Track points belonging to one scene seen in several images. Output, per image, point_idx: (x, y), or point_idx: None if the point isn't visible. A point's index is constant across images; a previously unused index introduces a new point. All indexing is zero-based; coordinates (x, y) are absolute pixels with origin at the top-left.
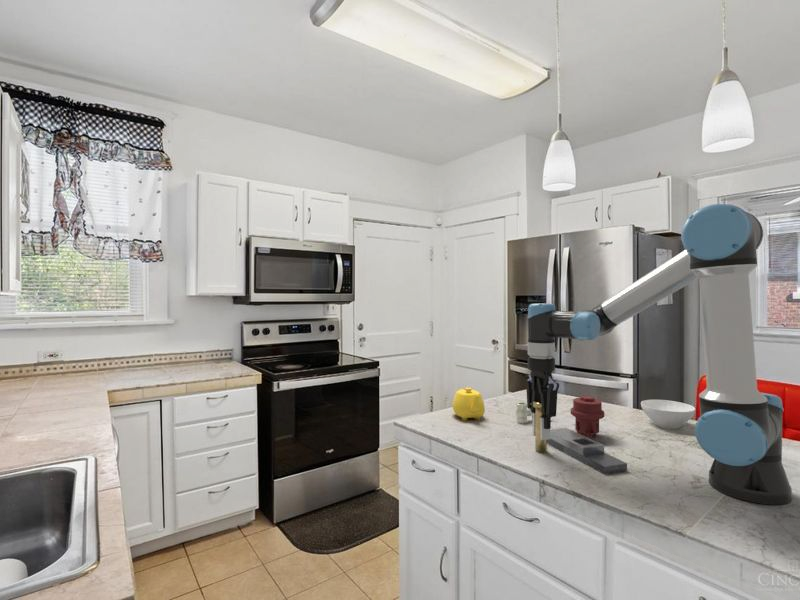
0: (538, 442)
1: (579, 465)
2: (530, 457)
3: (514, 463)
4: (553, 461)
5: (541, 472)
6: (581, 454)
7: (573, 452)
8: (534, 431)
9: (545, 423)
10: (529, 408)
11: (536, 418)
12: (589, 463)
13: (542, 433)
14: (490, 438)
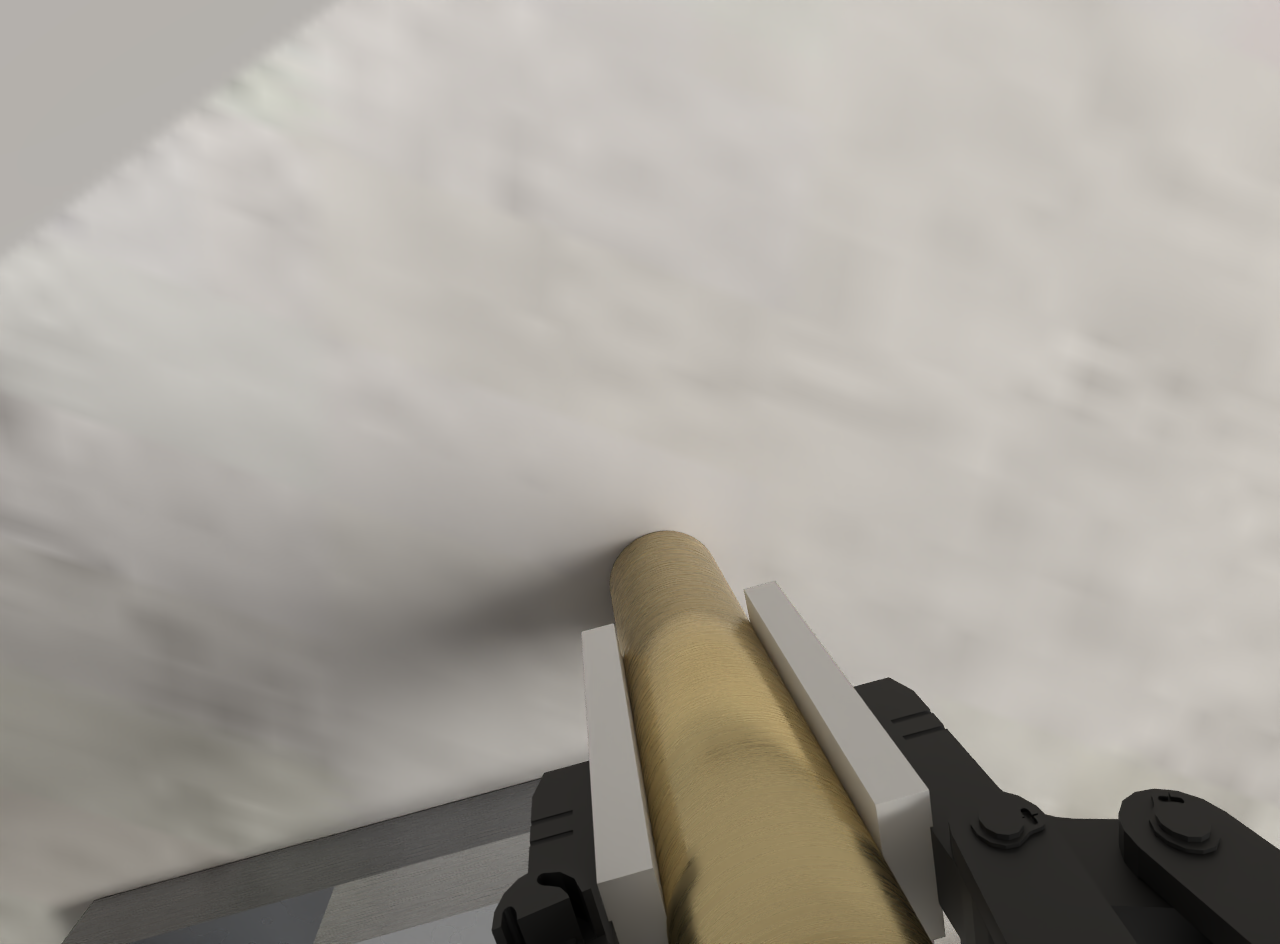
0: (638, 589)
1: (294, 784)
2: (498, 421)
3: (322, 178)
4: (387, 604)
5: (77, 392)
6: (357, 880)
7: (473, 832)
8: (760, 622)
9: (552, 841)
10: (1120, 816)
11: (740, 774)
12: (268, 871)
13: (587, 688)
14: (1111, 159)
